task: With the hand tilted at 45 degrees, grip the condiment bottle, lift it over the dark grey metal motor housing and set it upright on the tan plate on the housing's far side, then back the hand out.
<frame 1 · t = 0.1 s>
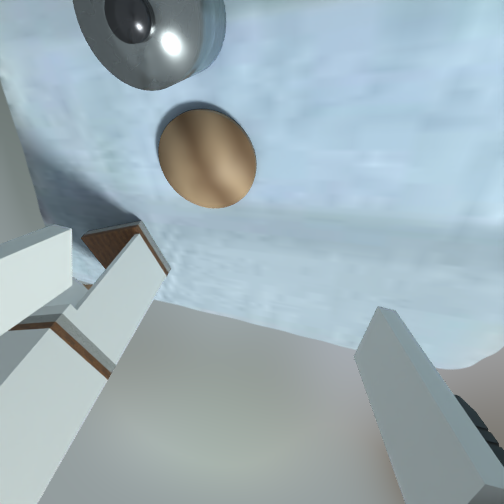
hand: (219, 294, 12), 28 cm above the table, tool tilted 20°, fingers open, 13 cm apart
display case: (131, 249, 51), on the table
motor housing: (177, 17, 29), on the table
tan plate: (208, 161, 38), on the table
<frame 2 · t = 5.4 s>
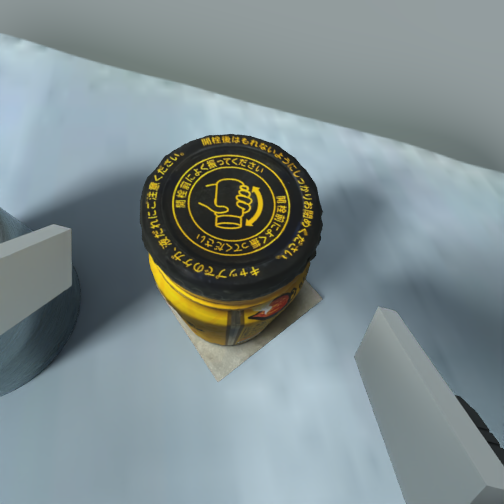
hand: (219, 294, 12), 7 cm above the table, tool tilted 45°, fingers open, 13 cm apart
condiment: (239, 293, 19), on the table
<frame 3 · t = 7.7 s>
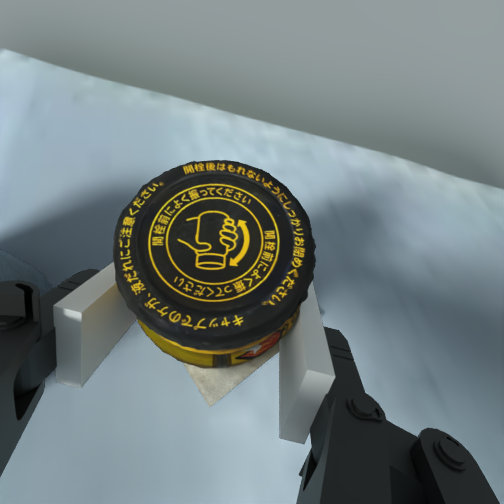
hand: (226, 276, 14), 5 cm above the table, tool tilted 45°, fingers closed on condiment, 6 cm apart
condiment: (233, 311, 18), on the table, touching gripper
when the fingers open (6 cm above the table, at t = 14.9 s): condiment stays where it is, resting on tan plate.
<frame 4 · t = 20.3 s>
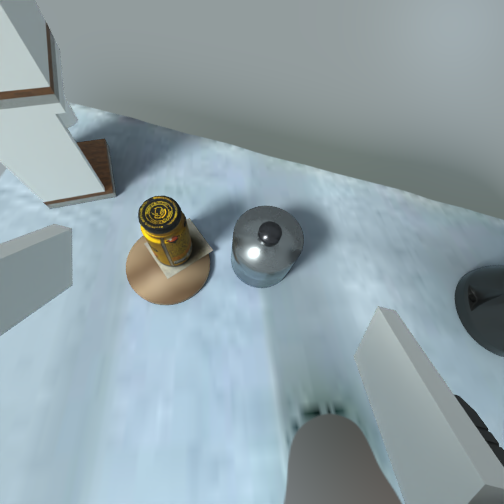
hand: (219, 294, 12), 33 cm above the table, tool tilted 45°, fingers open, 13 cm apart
display case: (81, 176, 51), on the table
condiment: (179, 248, 47), point 1 cm above the table, touching tan plate
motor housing: (260, 259, 48), on the table
tan plate: (169, 265, 46), on the table
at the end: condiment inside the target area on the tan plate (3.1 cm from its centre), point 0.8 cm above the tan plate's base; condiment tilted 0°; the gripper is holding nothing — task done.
